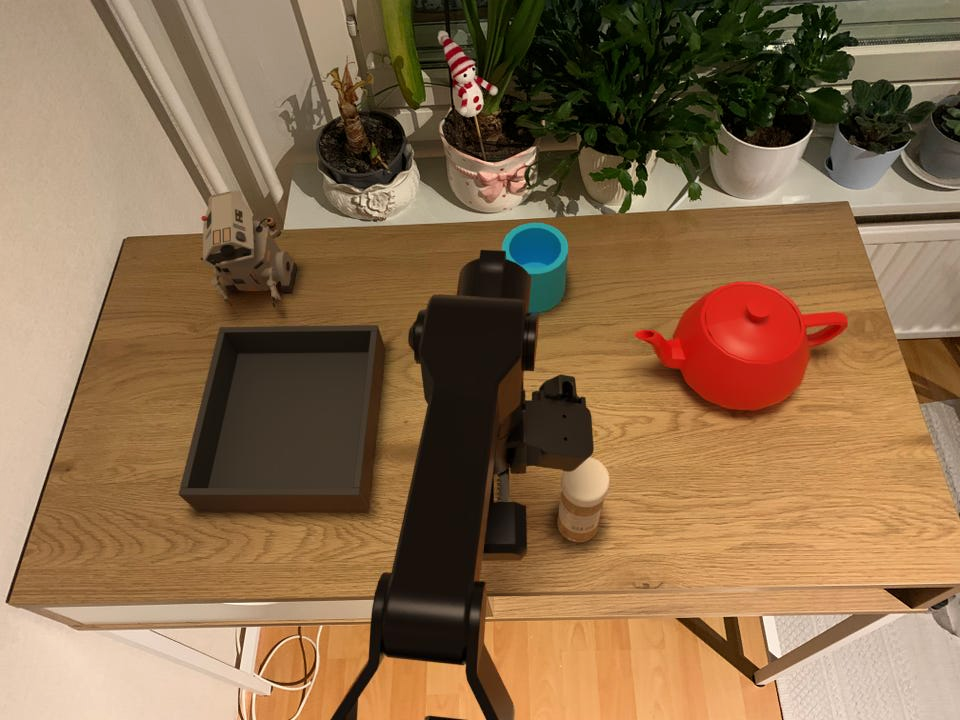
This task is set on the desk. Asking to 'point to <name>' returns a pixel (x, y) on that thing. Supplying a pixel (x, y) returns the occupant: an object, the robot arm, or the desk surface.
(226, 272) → the figurine
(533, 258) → the mug
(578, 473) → the sprinkles bottle
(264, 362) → the dark grey tray
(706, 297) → the teapot
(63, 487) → the desk surface
